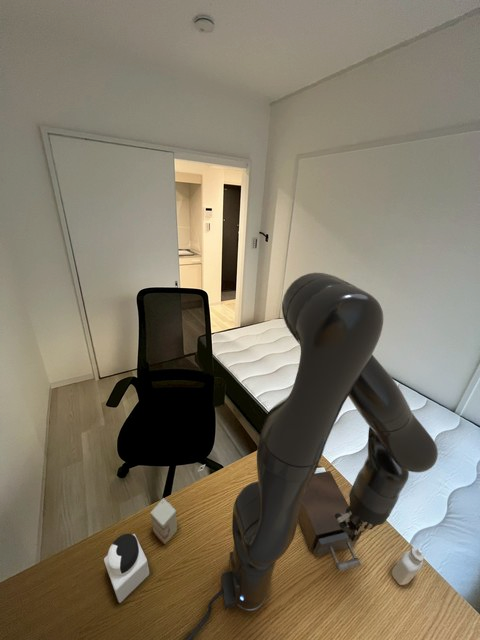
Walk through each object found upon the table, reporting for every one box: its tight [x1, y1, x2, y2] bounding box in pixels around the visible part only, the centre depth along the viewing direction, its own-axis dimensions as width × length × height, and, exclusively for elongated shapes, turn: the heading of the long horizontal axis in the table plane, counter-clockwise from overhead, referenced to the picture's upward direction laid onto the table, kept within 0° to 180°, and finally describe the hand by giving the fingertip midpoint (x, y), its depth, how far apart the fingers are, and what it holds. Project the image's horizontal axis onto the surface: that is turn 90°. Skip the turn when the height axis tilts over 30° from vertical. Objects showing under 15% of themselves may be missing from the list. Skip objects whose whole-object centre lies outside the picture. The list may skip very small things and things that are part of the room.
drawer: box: [313, 530, 362, 572], centre depth 67 cm, size 18×11×6 cm, turn 12°
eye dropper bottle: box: [391, 547, 424, 586], centre depth 59 cm, size 4×6×12 cm
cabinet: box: [298, 470, 350, 552], centre depth 71 cm, size 15×13×8 cm
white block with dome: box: [103, 533, 150, 604], centre depth 56 cm, size 7×7×12 cm
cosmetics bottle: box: [150, 497, 178, 546], centre depth 64 cm, size 5×4×10 cm
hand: (351, 535), depth 58 cm, fingers closed
